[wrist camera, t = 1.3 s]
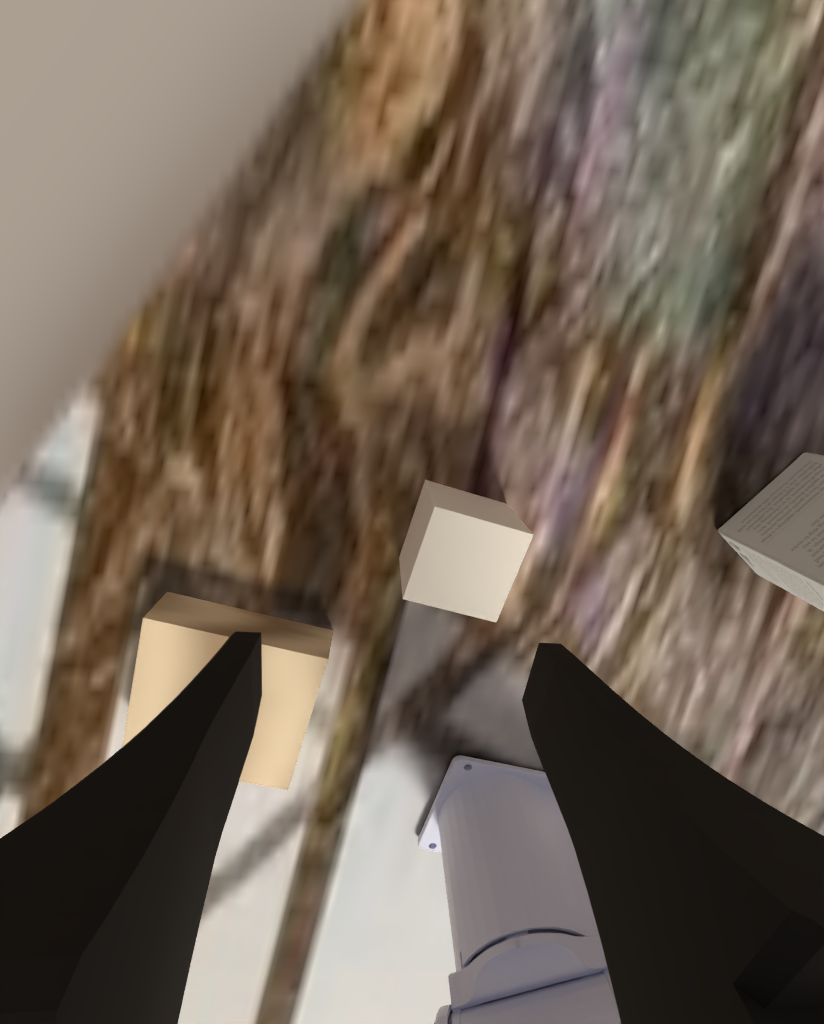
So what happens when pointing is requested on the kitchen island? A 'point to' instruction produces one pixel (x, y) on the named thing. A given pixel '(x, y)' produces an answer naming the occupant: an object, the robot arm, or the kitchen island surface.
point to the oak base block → (191, 645)
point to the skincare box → (786, 530)
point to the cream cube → (462, 552)
